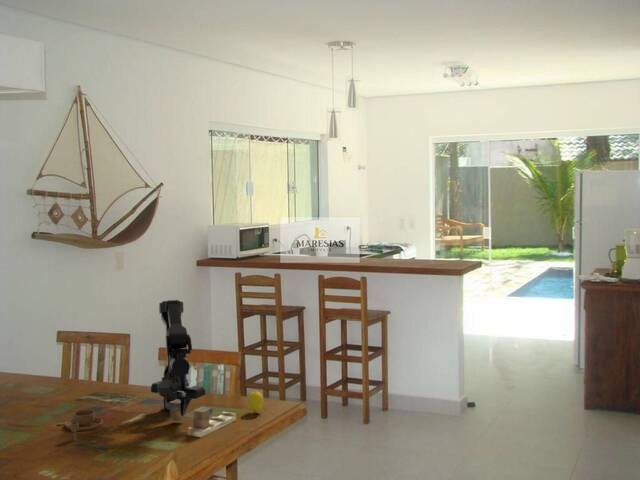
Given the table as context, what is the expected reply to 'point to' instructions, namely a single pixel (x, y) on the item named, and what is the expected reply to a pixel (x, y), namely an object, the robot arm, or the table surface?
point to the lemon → (255, 401)
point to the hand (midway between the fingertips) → (177, 414)
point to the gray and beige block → (175, 410)
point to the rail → (216, 426)
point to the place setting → (82, 421)
